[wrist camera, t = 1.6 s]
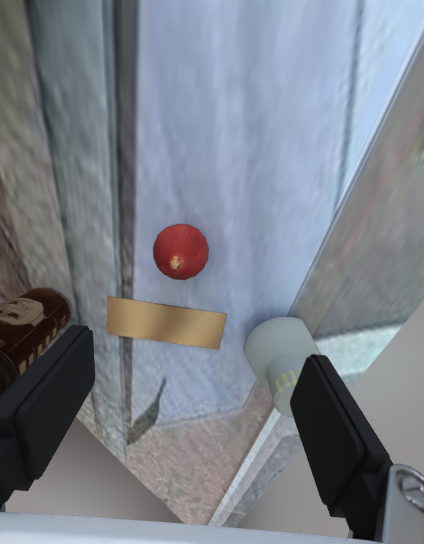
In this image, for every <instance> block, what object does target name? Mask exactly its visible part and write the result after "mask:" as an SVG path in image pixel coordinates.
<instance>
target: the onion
mask: <svg viewBox="0 0 424 544" xmlns="http://www.w3.org/2000/svg"><path fill="white" fill-rule="evenodd" d="M208 250H209V248H208V245H207V242H206V239H205V237H204V236H203V234H202V233H201V232H200V231H199V230H198V229H197V228H195V227H193V226H191V225H186V224H177V225H173V226H170V227H167V228H165V229H164V230H163V231H162V232H161V233H159V234H158V236H157V239H156V241H155V243H154V246H153V257H154V260H155V263H156V265H157V267H158V268H159V270H160V271H161V272H162V273H163V274H164V275H166V276H168V277H170V278H172V279H178V280H186V279H189V278H191V277H194V276H196V275H197V274H198V273H199V272H200V271H201V270H202V269H204V266H205V264H206V262H207V260H208Z"/></svg>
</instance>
